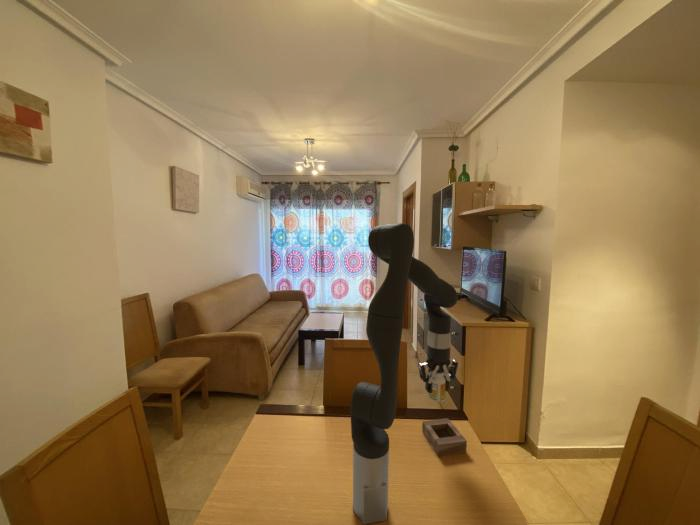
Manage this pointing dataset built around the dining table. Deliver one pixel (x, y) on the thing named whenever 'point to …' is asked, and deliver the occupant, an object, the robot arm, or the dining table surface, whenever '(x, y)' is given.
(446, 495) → the dining table surface
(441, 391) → the supplement bottle
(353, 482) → the robot arm
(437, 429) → the block
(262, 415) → the dining table surface
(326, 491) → the dining table surface
